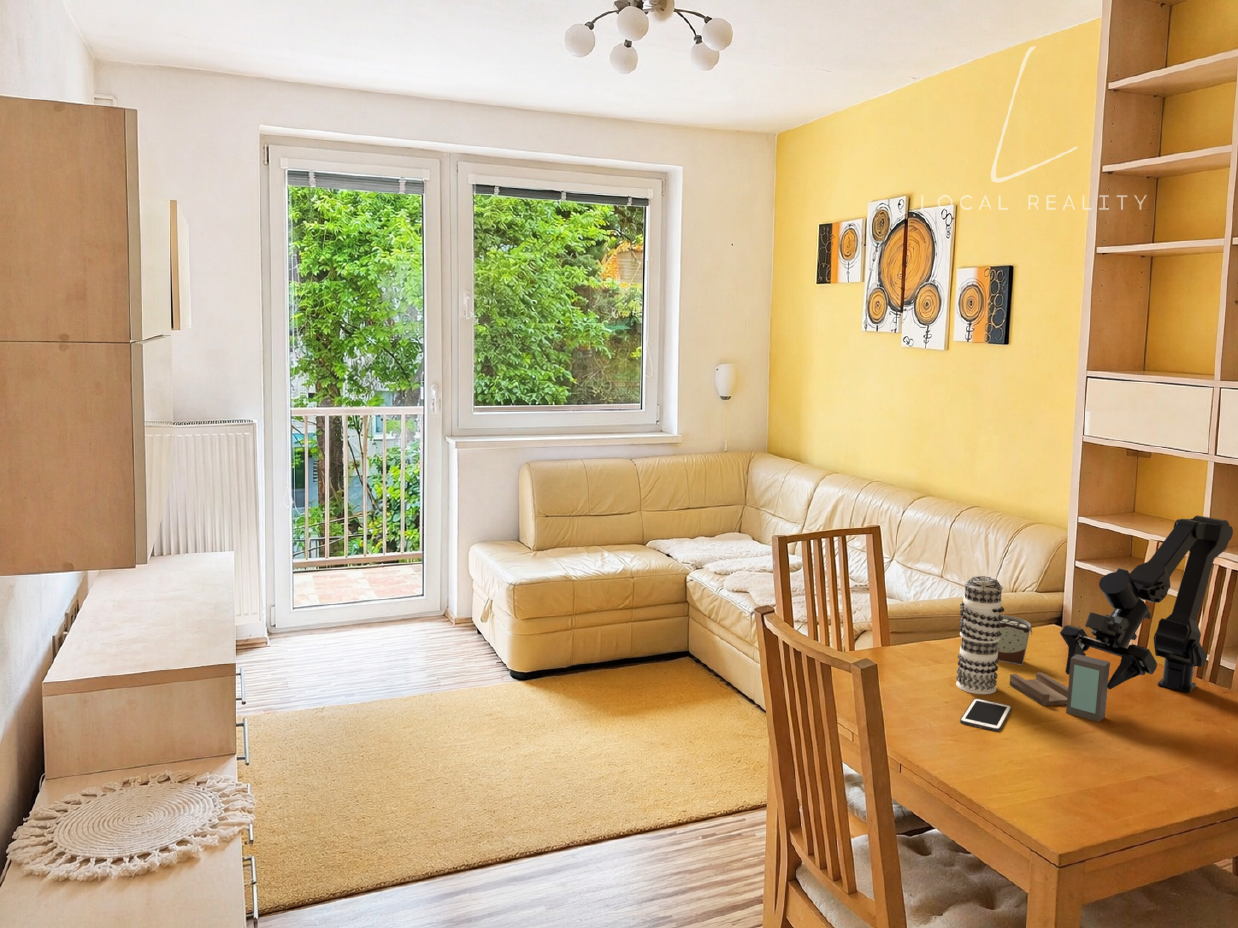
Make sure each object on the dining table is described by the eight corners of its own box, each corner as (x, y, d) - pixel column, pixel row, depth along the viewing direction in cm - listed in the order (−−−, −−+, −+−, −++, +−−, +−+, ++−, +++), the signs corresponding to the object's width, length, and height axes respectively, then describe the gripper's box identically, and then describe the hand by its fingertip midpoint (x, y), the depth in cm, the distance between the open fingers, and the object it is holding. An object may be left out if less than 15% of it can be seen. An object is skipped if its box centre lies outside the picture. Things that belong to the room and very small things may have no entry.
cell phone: (958, 724, 190) (959, 720, 190) (974, 701, 202) (974, 697, 202) (999, 734, 186) (999, 729, 186) (1012, 709, 198) (1012, 705, 198)
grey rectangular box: (1071, 708, 198) (1076, 653, 197) (1104, 717, 194) (1110, 661, 192) (1065, 712, 196) (1070, 657, 194) (1098, 722, 191) (1104, 666, 190)
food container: (1033, 659, 228) (1037, 619, 227) (1029, 666, 223) (1032, 626, 221) (980, 649, 235) (983, 610, 233) (975, 656, 229) (978, 617, 228)
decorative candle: (987, 679, 214) (995, 573, 211) (1005, 695, 205) (1014, 584, 201) (948, 679, 214) (955, 573, 210) (964, 694, 205) (972, 584, 201)
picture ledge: (1041, 682, 212) (1042, 672, 212) (1076, 703, 201) (1077, 692, 200) (1009, 684, 211) (1010, 674, 211) (1042, 705, 199) (1043, 694, 199)
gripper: (1069, 588, 202) (1032, 644, 198) (1155, 611, 186) (1116, 673, 182) (1087, 618, 207) (1052, 674, 203) (1173, 643, 191) (1136, 704, 187)
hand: (1087, 680), depth 194 cm, fingers open, 9 cm apart
